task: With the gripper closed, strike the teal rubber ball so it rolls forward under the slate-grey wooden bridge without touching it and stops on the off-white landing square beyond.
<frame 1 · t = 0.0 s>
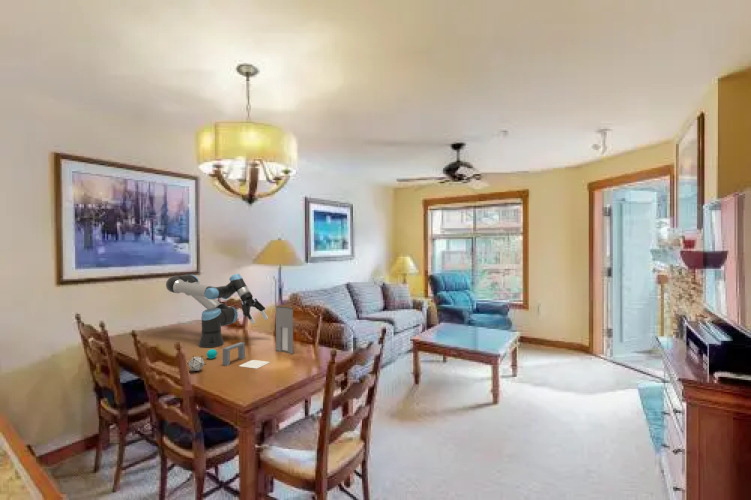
hand: (260, 321, 256), 15 cm above the table, tool tilted 35°, fingers open, 13 cm apart
bridge: (234, 361, 218), on the table
game die: (196, 371, 201), on the table
ball: (211, 353, 223), on the table
cabinet: (283, 350, 241), on the table
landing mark: (254, 364, 213), on the table
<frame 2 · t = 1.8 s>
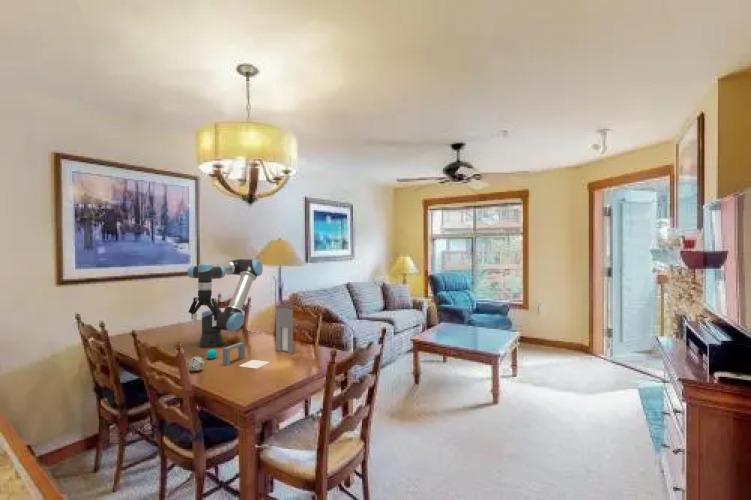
hand: (204, 325, 227), 18 cm above the table, tool pointing down, fingers open, 13 cm apart
nothing on the table moved.
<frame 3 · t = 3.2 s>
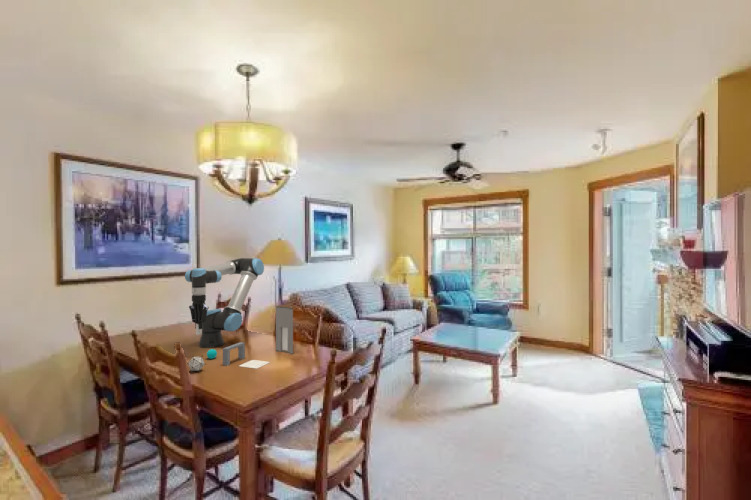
hand: (198, 334, 226), 13 cm above the table, tool pointing down, fingers closed
nothing on the table moved.
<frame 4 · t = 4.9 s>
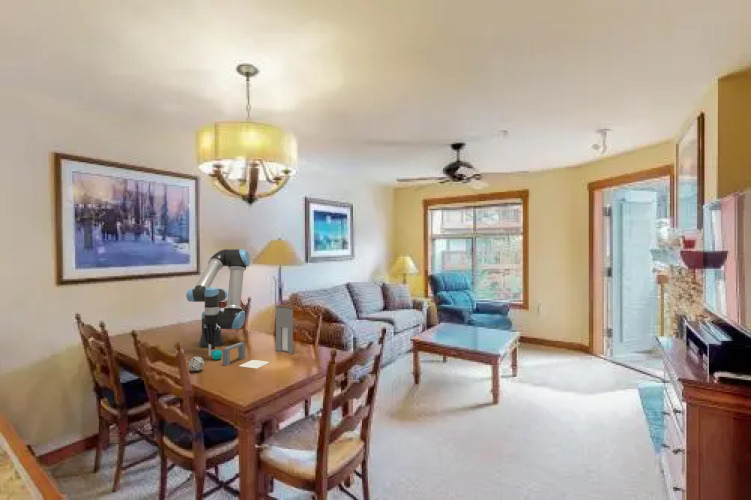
hand: (211, 354, 222), 2 cm above the table, tool pointing down, fingers closed
ball: (217, 354, 222), on the table
everything else where it was.
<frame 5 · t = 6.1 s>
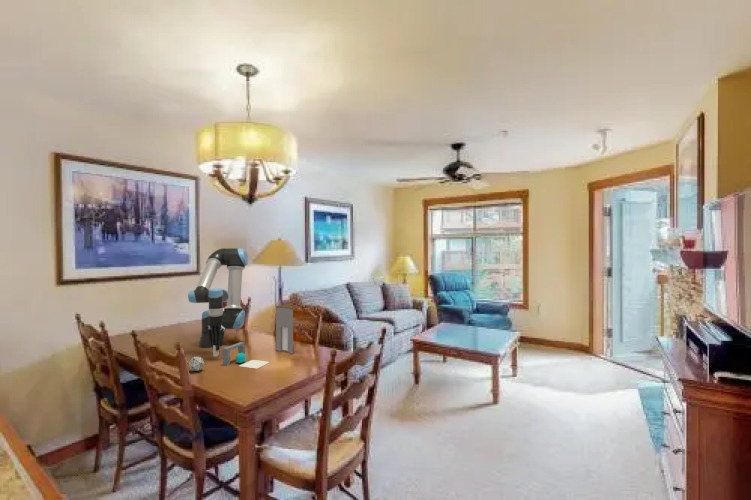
hand: (215, 355, 222), 2 cm above the table, tool pointing down, fingers closed
ball: (240, 357, 215), on the table
everything else where it was.
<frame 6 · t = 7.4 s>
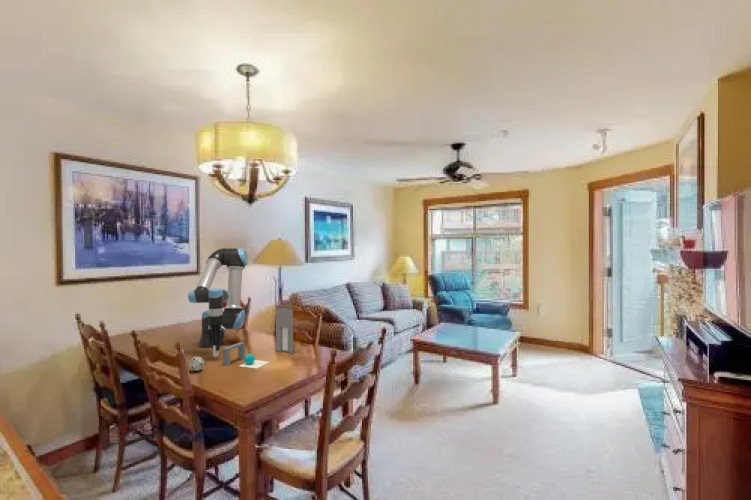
hand: (215, 355, 222), 2 cm above the table, tool pointing down, fingers closed
ball: (249, 359, 213), on the table
everything else where it was.
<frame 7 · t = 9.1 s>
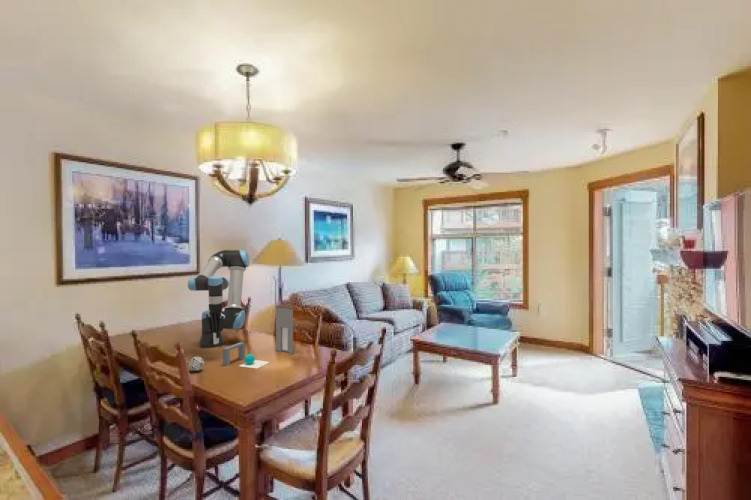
hand: (216, 343, 223), 9 cm above the table, tool pointing down, fingers closed
nothing on the table moved.
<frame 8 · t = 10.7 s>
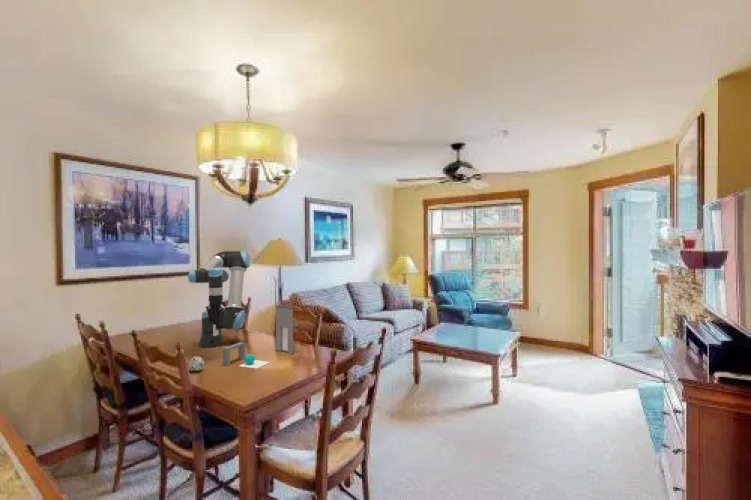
hand: (215, 335, 222), 14 cm above the table, tool pointing down, fingers closed
nothing on the table moved.
at the end: ball 2.9 cm from the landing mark (horizontally); ball never touched bridge; ball at rest at the end (0.0 cm/s) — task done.
